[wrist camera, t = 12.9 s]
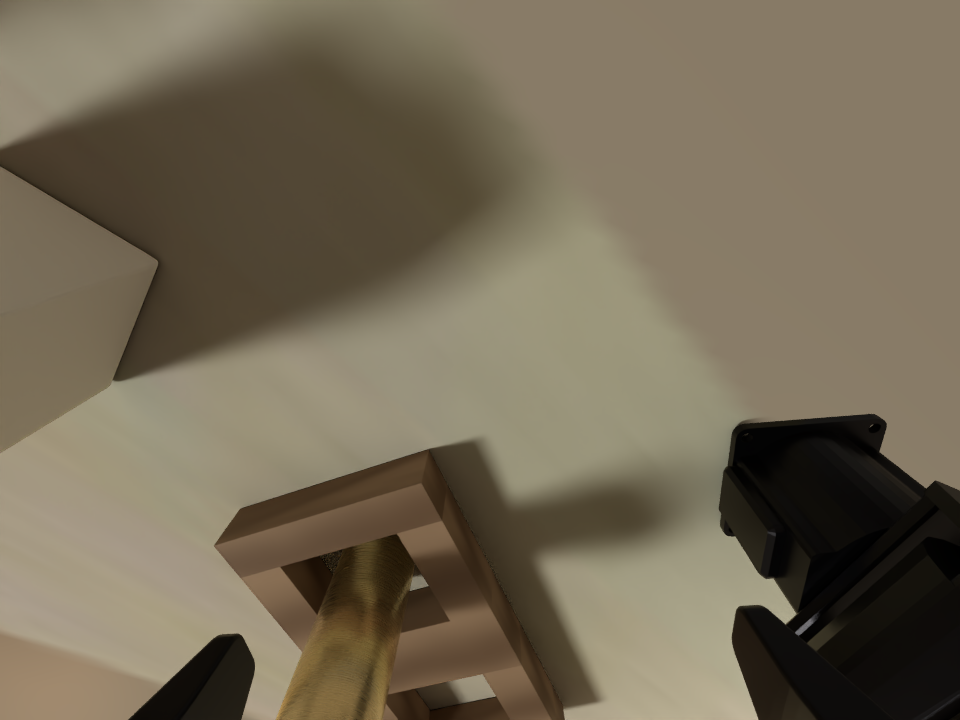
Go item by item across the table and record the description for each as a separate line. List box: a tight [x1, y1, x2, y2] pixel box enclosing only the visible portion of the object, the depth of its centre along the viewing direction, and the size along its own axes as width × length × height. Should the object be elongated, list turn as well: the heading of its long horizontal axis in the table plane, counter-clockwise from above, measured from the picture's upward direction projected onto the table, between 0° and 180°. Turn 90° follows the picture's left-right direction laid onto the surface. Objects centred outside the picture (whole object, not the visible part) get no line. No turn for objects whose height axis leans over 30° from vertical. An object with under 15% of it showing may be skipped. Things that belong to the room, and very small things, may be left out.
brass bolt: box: [276, 534, 415, 720], centre depth 19 cm, size 5×5×14 cm
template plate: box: [214, 450, 565, 720], centre depth 26 cm, size 22×11×2 cm, turn 21°
